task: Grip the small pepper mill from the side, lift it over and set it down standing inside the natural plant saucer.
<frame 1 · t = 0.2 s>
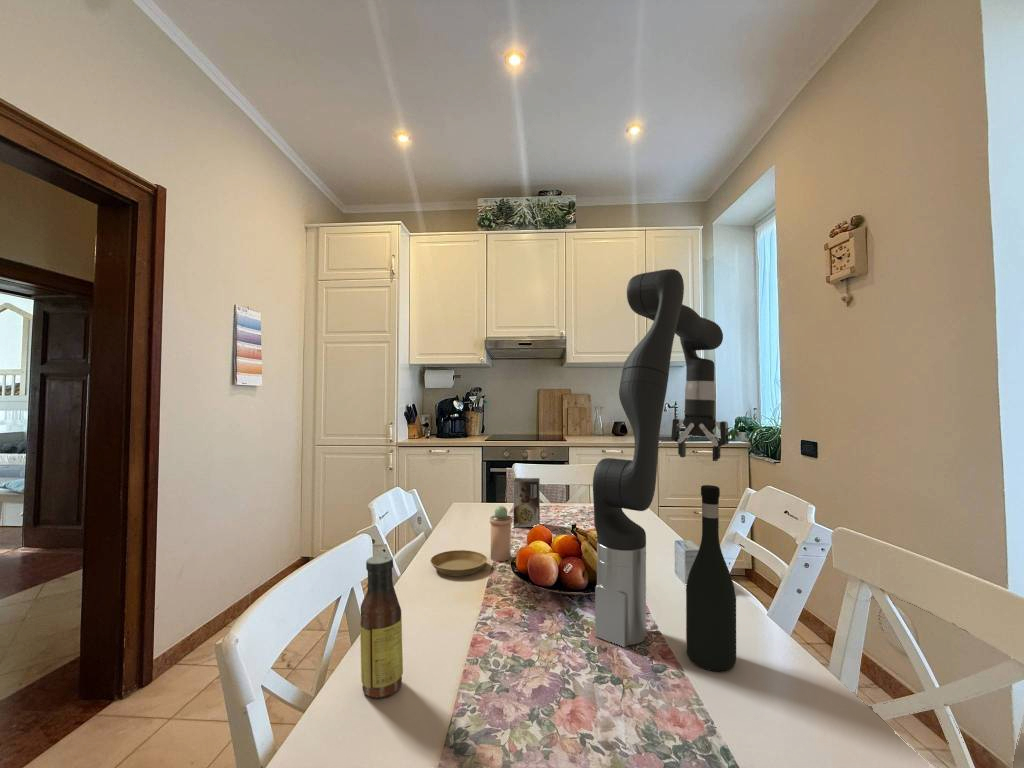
hand: (698, 458, 125), 29 cm above the table, tool pointing down, fingers open, 8 cm apart
pepper mill: (500, 557, 130), on the table
plant saucer: (458, 569, 122), on the table
sauce bottle: (381, 688, 72), on the table
wine bottle: (710, 661, 81), on the table
coffee box: (526, 526, 163), on the table
medicine box: (688, 580, 116), on the table
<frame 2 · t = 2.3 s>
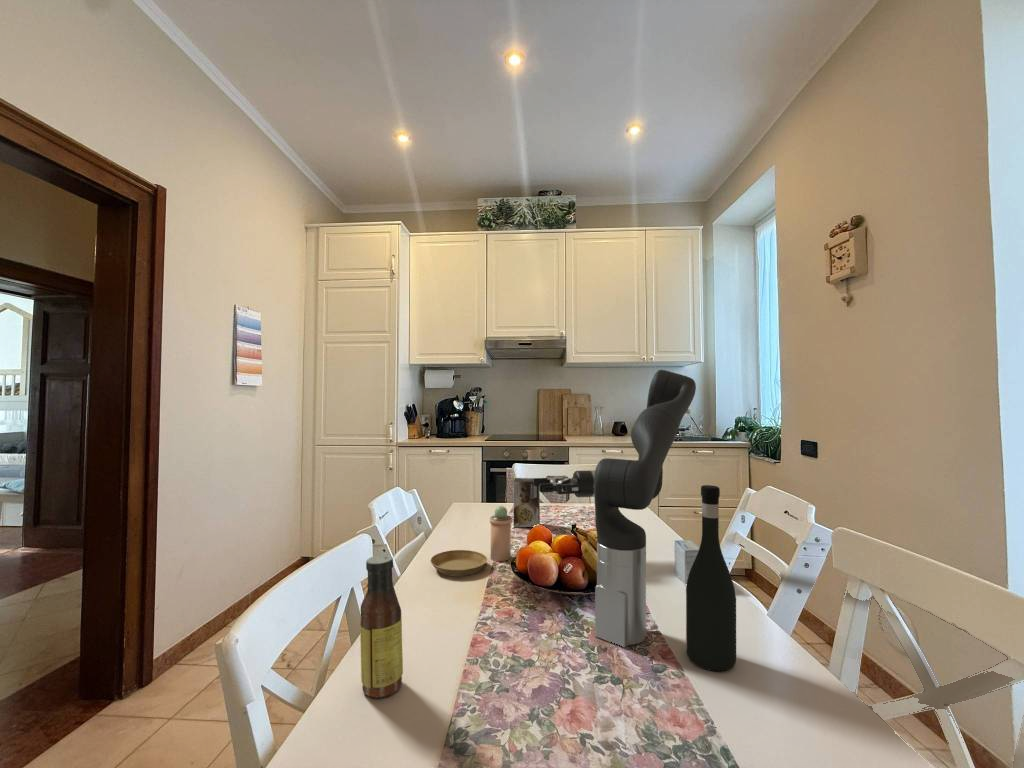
hand: (536, 485, 132), 20 cm above the table, tool horizontal, fingers open, 8 cm apart
nothing on the table moved.
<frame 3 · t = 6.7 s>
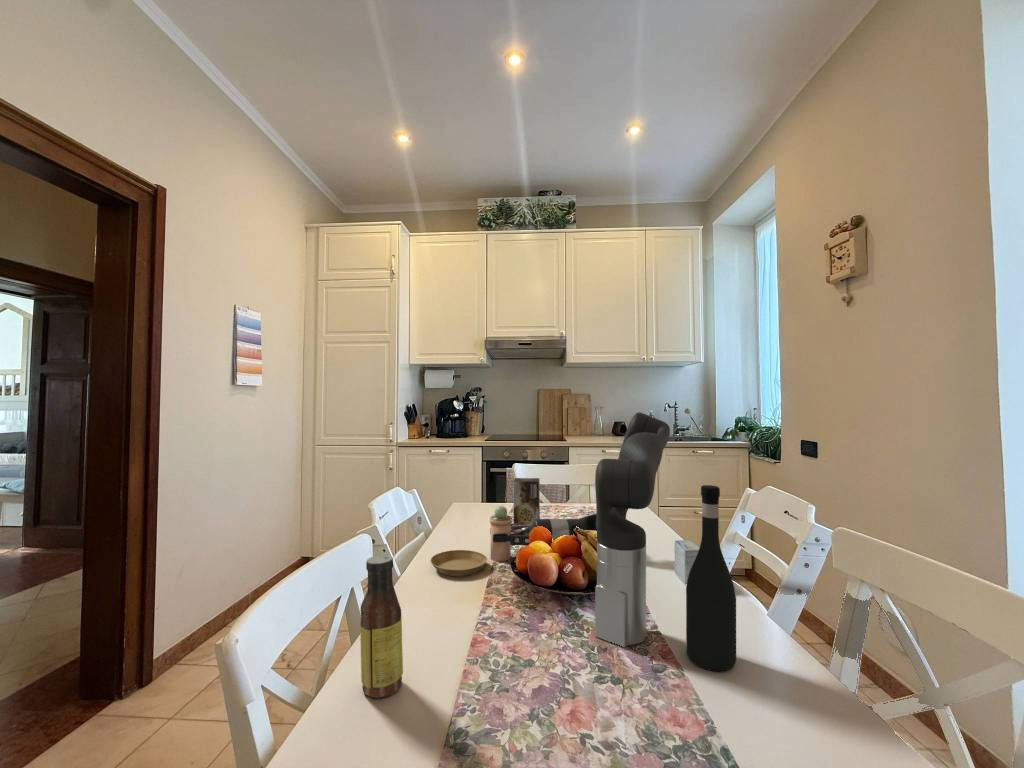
hand: (491, 534, 130), 7 cm above the table, tool horizontal, fingers closed on pepper mill, 5 cm apart
pepper mill: (500, 557, 130), on the table, touching gripper
everything else where it was.
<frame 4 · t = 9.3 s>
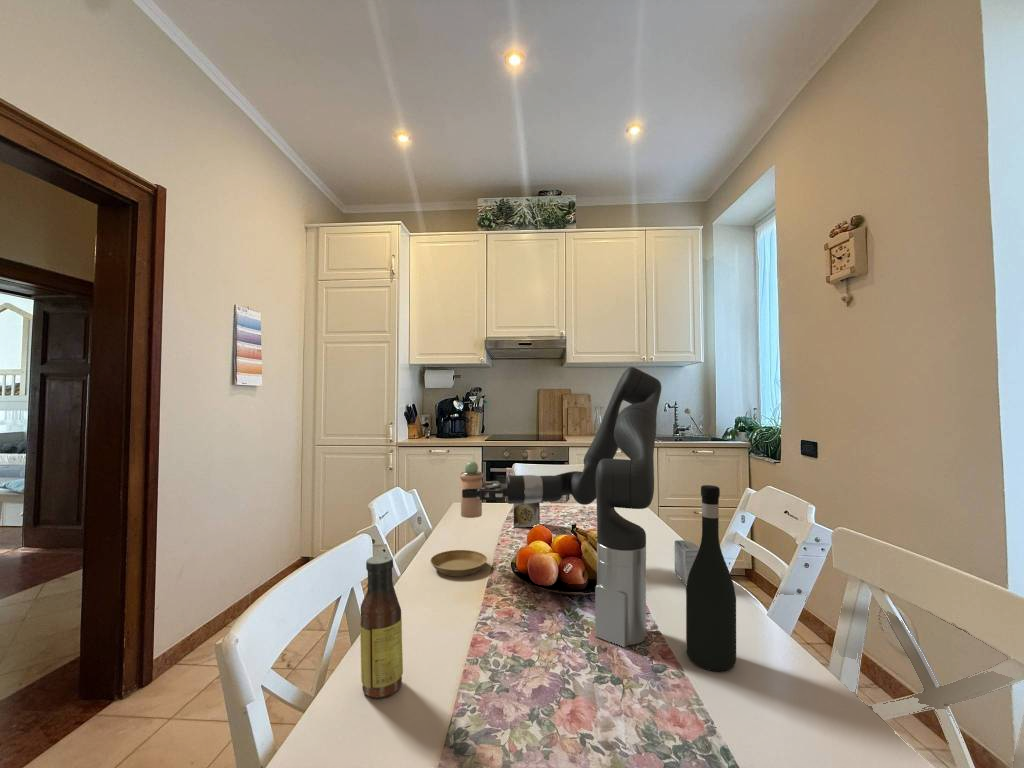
hand: (462, 491, 125), 20 cm above the table, tool horizontal, fingers closed on pepper mill, 5 cm apart
pepper mill: (471, 515, 125), point 13 cm above the table, touching gripper
everything else where it was.
when the fingers open (9 cm above the table, at t = 12.2 s): pepper mill stays where it is, resting on plant saucer.
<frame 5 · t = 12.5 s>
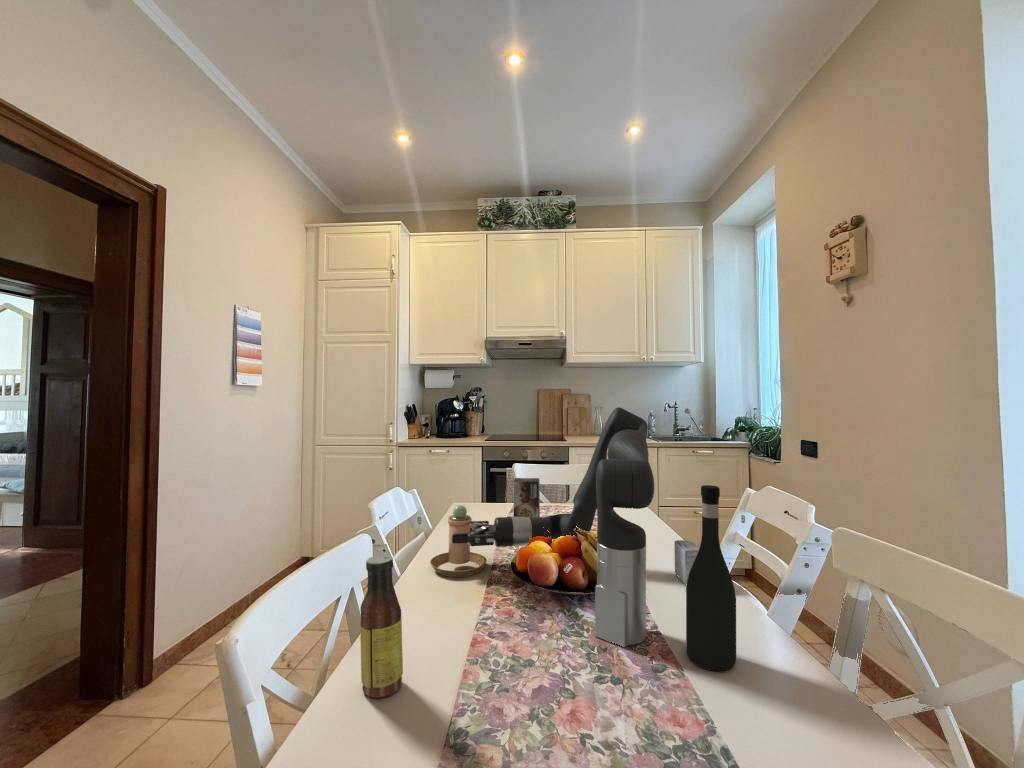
hand: (451, 533, 122), 9 cm above the table, tool horizontal, fingers open, 8 cm apart
pepper mill: (459, 560, 123), point 2 cm above the table, touching plant saucer
plant saucer: (458, 571, 122), on the table, touching pepper mill
everything else where it was.
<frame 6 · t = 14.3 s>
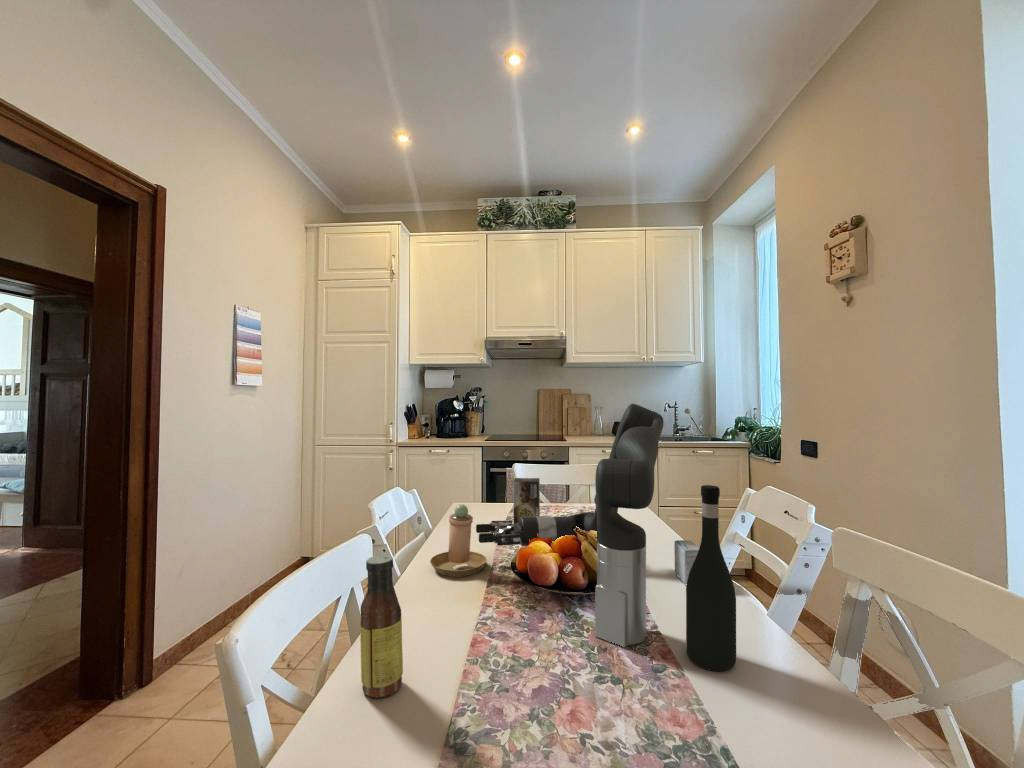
hand: (477, 533, 123), 9 cm above the table, tool horizontal, fingers open, 8 cm apart
nothing on the table moved.
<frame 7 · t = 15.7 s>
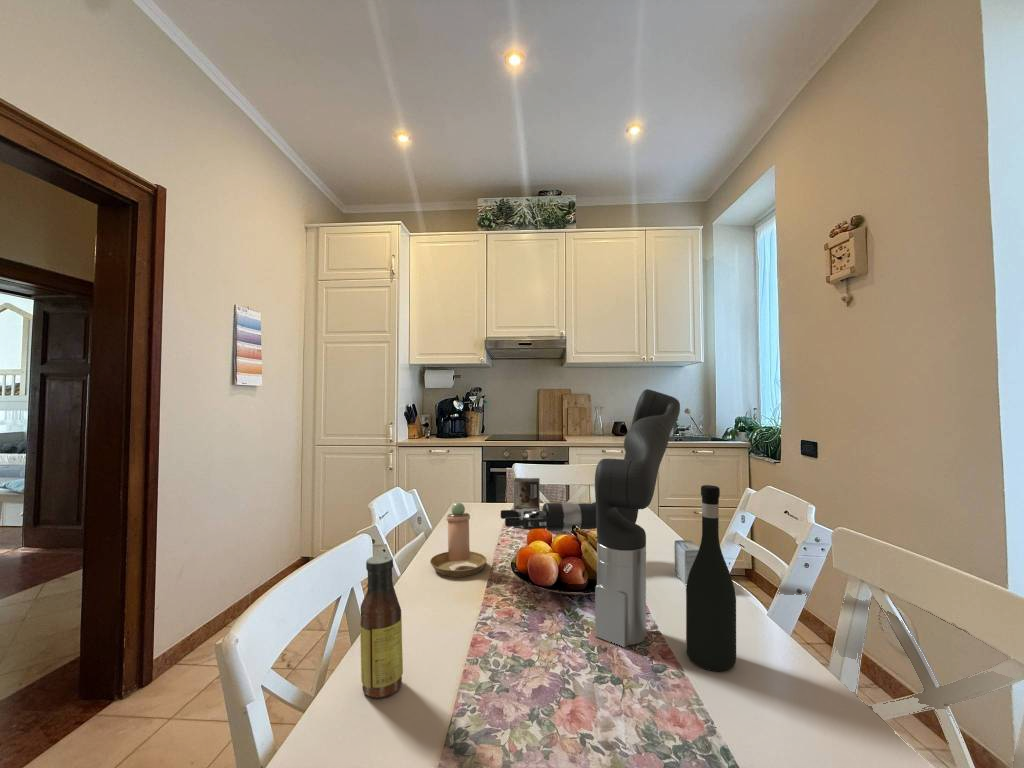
hand: (502, 518, 125), 13 cm above the table, tool horizontal, fingers open, 8 cm apart
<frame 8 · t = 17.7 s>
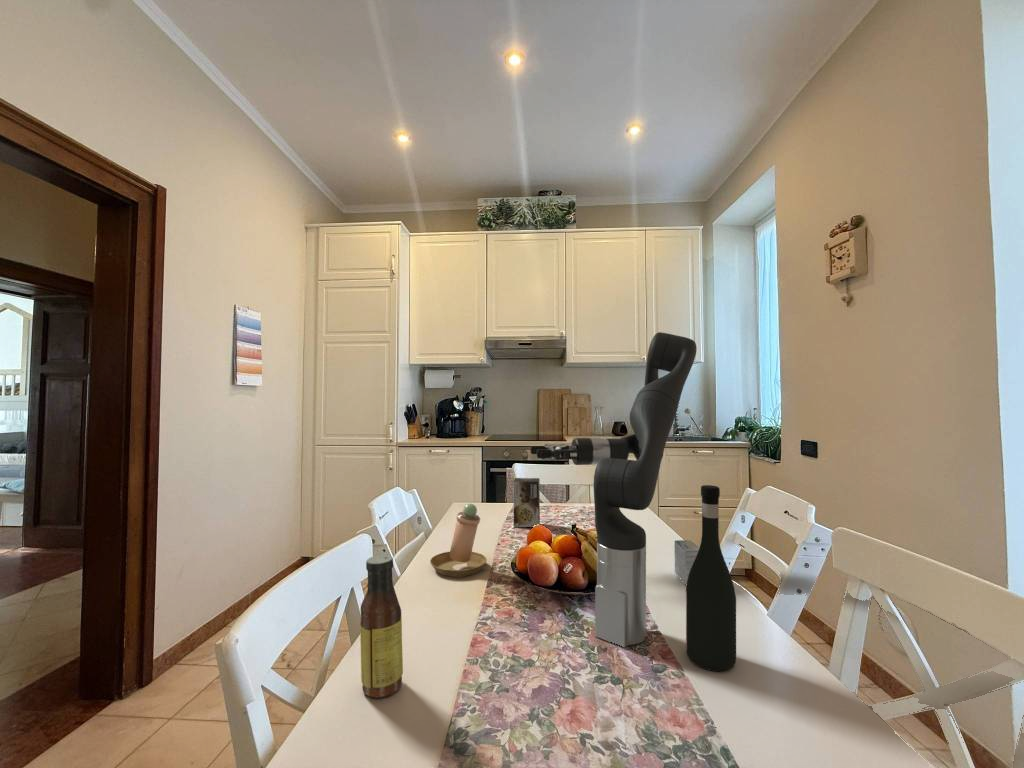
hand: (533, 451, 128), 30 cm above the table, tool horizontal, fingers open, 8 cm apart
pepper mill: (459, 557, 123), point 3 cm above the table, tilted 12°, touching plant saucer
everything else where it was.
at the end: pepper mill 0.0 cm from the plant saucer (horizontally); pepper mill touching plant saucer; pepper mill tilted 12° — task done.
